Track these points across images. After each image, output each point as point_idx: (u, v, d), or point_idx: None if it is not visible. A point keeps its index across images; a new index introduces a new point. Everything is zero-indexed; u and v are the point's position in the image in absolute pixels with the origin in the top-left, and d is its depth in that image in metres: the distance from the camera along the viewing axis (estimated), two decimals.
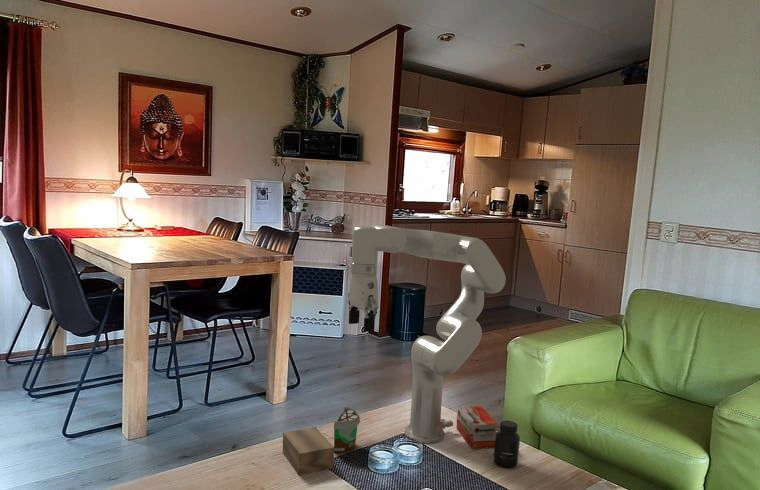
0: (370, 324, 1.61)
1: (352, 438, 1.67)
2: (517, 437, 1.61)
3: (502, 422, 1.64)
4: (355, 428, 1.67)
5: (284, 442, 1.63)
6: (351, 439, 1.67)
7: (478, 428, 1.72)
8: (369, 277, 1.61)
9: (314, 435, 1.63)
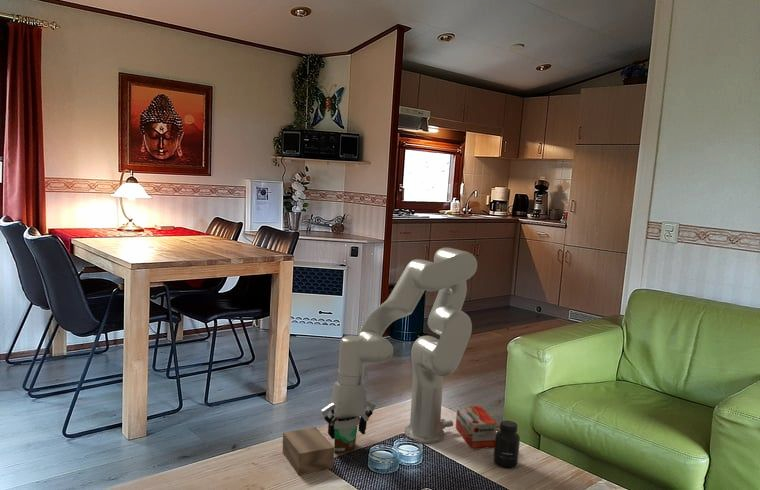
0: None
1: (352, 438, 1.67)
2: (517, 437, 1.61)
3: (502, 422, 1.64)
4: (355, 428, 1.68)
5: (284, 442, 1.63)
6: (351, 439, 1.67)
7: (478, 428, 1.72)
8: None
9: (314, 435, 1.63)
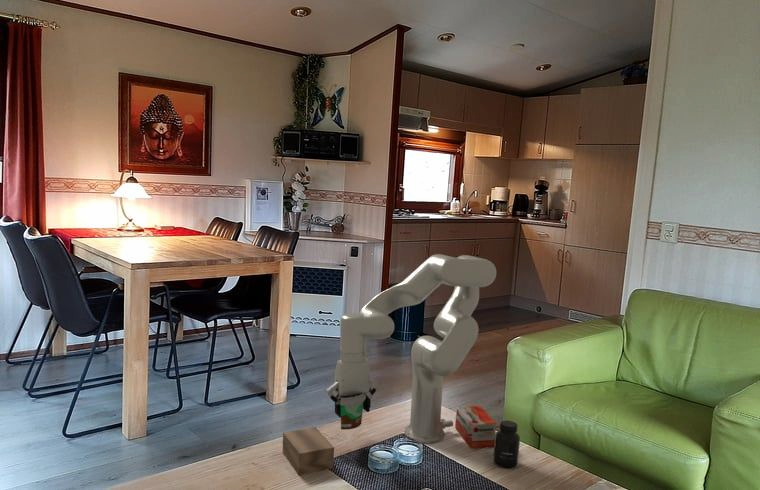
0: None
1: (359, 414, 1.67)
2: (517, 437, 1.61)
3: (502, 422, 1.64)
4: (361, 404, 1.67)
5: (284, 442, 1.63)
6: (358, 415, 1.67)
7: (477, 428, 1.72)
8: None
9: (314, 435, 1.63)
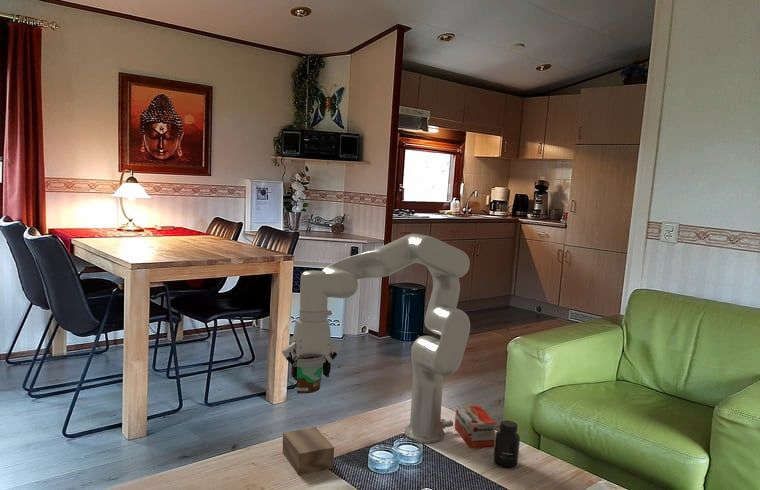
0: None
1: (317, 378, 1.56)
2: (517, 437, 1.61)
3: (502, 422, 1.64)
4: (320, 367, 1.57)
5: (284, 442, 1.63)
6: (315, 379, 1.56)
7: (477, 427, 1.72)
8: None
9: (314, 435, 1.63)
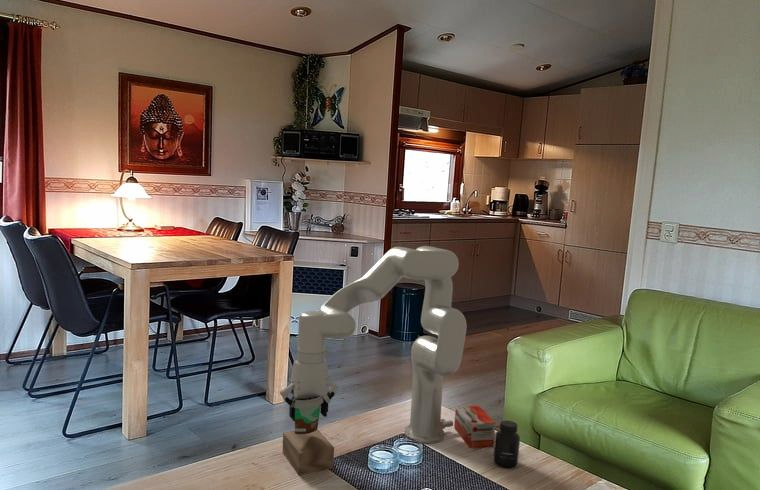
0: None
1: (314, 418, 1.57)
2: (517, 437, 1.61)
3: (502, 422, 1.64)
4: (318, 408, 1.58)
5: (284, 442, 1.63)
6: (313, 419, 1.57)
7: (477, 427, 1.72)
8: None
9: (314, 435, 1.63)
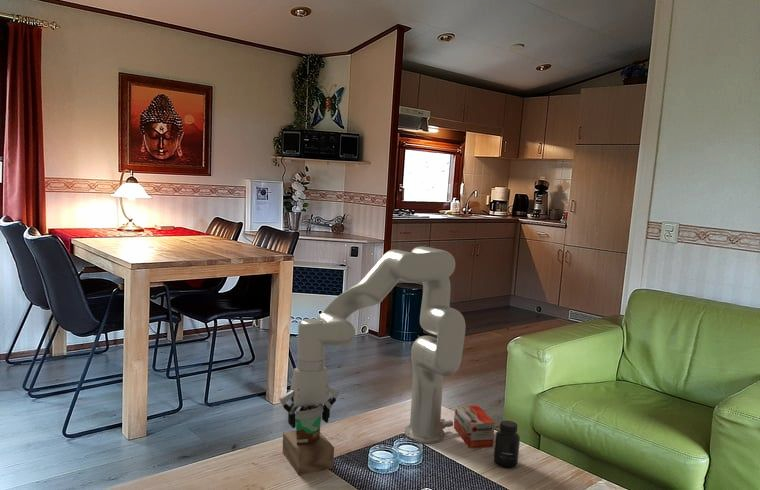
0: None
1: (316, 428, 1.58)
2: (517, 437, 1.61)
3: (502, 422, 1.64)
4: (318, 417, 1.58)
5: (284, 442, 1.63)
6: (314, 429, 1.58)
7: (476, 427, 1.72)
8: None
9: None
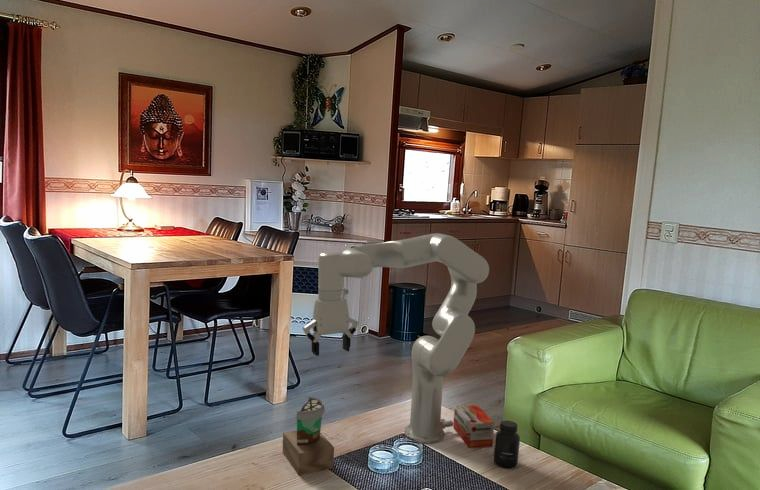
0: None
1: (316, 429, 1.58)
2: (517, 437, 1.61)
3: (502, 422, 1.64)
4: (319, 418, 1.58)
5: (284, 442, 1.63)
6: (315, 430, 1.58)
7: (476, 427, 1.72)
8: None
9: None
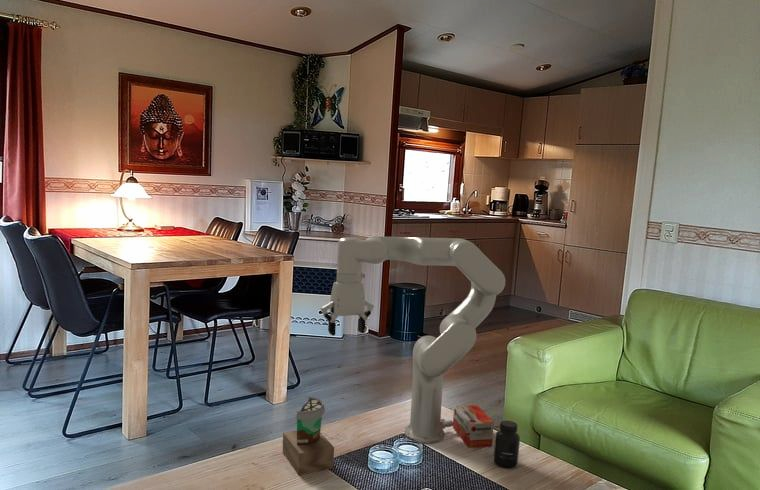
0: None
1: (316, 429, 1.58)
2: (517, 437, 1.61)
3: (502, 422, 1.64)
4: (319, 418, 1.58)
5: (284, 442, 1.63)
6: (315, 430, 1.58)
7: (475, 427, 1.73)
8: None
9: None
